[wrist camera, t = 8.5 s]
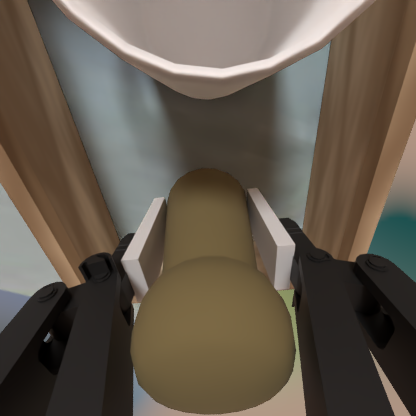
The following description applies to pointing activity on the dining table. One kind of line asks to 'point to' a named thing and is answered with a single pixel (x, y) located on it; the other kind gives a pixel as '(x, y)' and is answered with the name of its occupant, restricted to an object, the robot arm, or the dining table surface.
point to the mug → (212, 37)
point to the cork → (211, 307)
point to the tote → (323, 155)
